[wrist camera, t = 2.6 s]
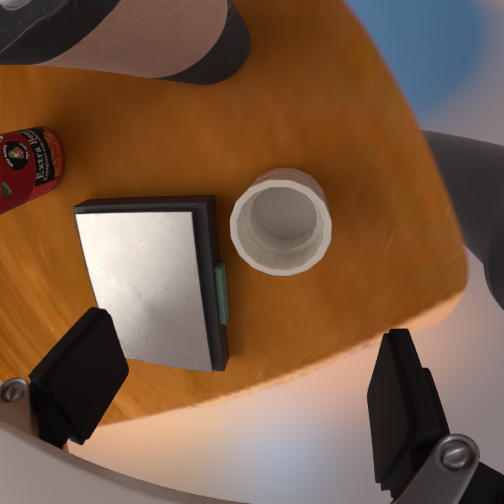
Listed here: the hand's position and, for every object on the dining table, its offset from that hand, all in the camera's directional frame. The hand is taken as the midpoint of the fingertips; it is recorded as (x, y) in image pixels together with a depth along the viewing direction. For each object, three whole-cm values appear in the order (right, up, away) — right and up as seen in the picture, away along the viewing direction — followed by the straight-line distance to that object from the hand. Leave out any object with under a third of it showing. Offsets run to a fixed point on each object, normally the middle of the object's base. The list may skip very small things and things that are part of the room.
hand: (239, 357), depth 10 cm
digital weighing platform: (-10, -1, +19) cm, 21 cm away
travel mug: (-3, +20, +12) cm, 24 cm away
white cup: (+3, +7, +16) cm, 18 cm away
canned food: (-23, +14, +18) cm, 32 cm away
